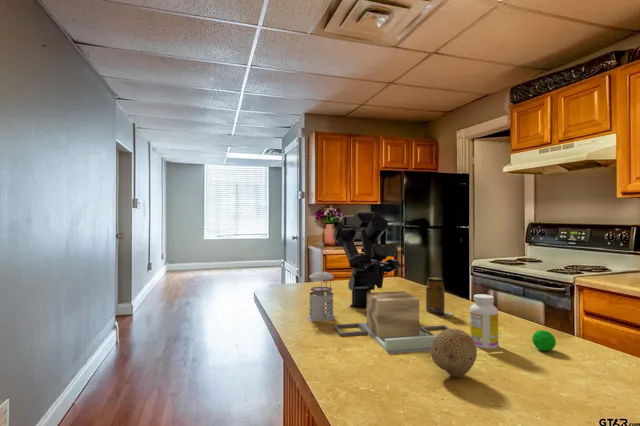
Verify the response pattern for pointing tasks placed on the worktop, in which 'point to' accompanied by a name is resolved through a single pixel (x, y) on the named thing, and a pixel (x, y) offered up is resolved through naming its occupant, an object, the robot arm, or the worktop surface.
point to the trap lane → (396, 338)
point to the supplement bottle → (484, 322)
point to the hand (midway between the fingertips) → (380, 288)
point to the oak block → (393, 314)
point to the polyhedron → (544, 340)
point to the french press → (321, 297)
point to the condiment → (435, 297)
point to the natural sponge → (454, 352)
